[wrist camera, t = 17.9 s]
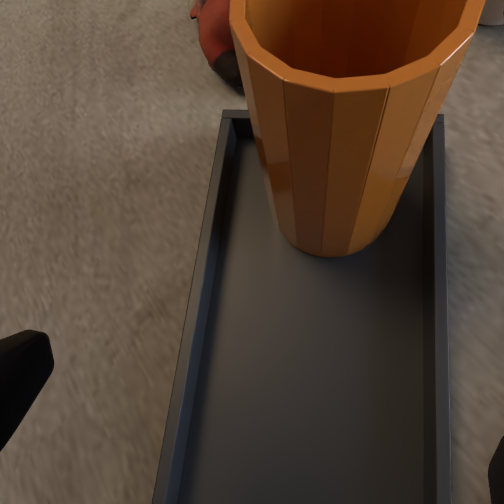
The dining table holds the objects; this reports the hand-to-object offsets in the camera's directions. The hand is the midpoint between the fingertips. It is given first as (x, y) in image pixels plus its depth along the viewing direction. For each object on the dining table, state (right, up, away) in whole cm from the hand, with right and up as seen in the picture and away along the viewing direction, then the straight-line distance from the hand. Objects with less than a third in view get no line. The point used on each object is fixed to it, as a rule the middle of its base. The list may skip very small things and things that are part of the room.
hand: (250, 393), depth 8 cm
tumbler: (+4, +6, +15) cm, 17 cm away
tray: (+3, -3, +13) cm, 14 cm away
